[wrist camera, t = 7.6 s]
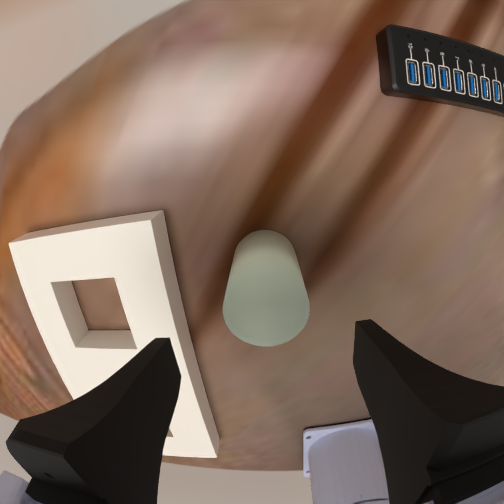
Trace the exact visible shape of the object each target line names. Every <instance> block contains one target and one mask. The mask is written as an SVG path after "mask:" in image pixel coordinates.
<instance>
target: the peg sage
mask: <svg viewBox="0 0 504 504" xmlns="http://www.w3.org/2000/svg"><path fill="white" fill-rule="evenodd" d="M309 313H310V304H309V300H308V296H307V292H306V289H305V285H304V281H303V278H302V274H301V271H300V267H299V264H298V260H297V257H296V253H295V250H294V247H293V245H292V244H291V242H290V241H289V240H288V239H287V238H286V237H285V236H283V235H282V234H280V233H278V232H275V231H271V230H259V231H255V232H252V233H250V234H248V235H247V236H245V237H244V238H243V239H242V240H241V241H240V242H239V244H238V245H237V247H236V250H235V253H234V257H233V262H232V266H231V271H230V275H229V280H228V284H227V289H226V293H225V298H224V303H223V316H224V320H225V322H226V325H227V326H228V328H229V329H230V331H231V332H232V333H233V334H234V335H235V336H236V337H238V338H239V339H241V340H242V341H244V342H246V343H249V344H252V345H256V346H264V347H266V346H276V345H280V344H283V343H286V342H288V341H289V340H291V339H293V338H294V337H295V336H297V335H298V334H299V333H300V332H301V331H302V329H303V328H304V327H305V325H306V323H307V321H308V318H309Z"/></svg>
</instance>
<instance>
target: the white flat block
mask: <svg viewBox="0 0 504 504" xmlns="http://www.w3.org/2000/svg"><path fill="white" fill-rule="evenodd" d="M9 247H10V250H11V254H12V257H13V261H14V264H15V267H16V270H17V273H18V276H19V279H20V282H21V285H22V288H23V291H24V294H25V296H26V299H27V302H28V304H29V307H30V310H31V312H32V315H33V317H34V319H35V322H36V324H37V327H38V329H39V331H40V334H41V336H42V338H43V340H44V343H45V345H46V347H47V349H48V351H49V353H50V355H51V358H52V360H53V362H54V364H55V366H56V368H57V370H58V372H59V374H60V375H61V377H62V379H63V381H64V383H65V385H66V387H67V389H68V390H69V392H70V394H71V396H72V397H73V399H76V398H78V397H80V396H82V395H84V394H86V393H87V392H89V391H90V390H92V389H94V388H95V387H97V386H98V385H100V384H101V383H102V382H104V381H105V380H107V379H108V378H109V377H110V376H112V375H113V374H114V373H115V372H117V371H118V370H119V369H120V368H122V367H123V366H124V365H125V364H126V363H127V362H128V361H130V360H131V359H132V358H133V357H134V356H135V355H136V354H137V353H139V352H140V351H141V350H142V349H143V348H144V347H145V346H146V345H147V344H149V343H150V342H151V341H152V340H153V339H155V338H168V337H170V340H171V344H172V347H173V350H174V354H175V357H176V360H177V363H178V366H179V369H180V373H181V376H182V377H181V384H180V391H179V397H178V400H177V404H176V407H175V410H174V414H173V417H172V420H171V423H170V427H169V430H168V433H167V437H166V440H165V444H164V448H163V454H162V455H168V456H182V457H204V458H217V454H218V446H219V439H220V438H219V435H218V431H217V428H216V425H215V422H214V419H213V415H212V412H211V409H210V406H209V402H208V399H207V395H206V392H205V388H204V385H203V381H202V378H201V374H200V371H199V367H198V363H197V360H196V356H195V352H194V348H193V344H192V340H191V337H190V333H189V329H188V324H187V320H186V316H185V312H184V308H183V304H182V299H181V295H180V290H179V286H178V281H177V277H176V272H175V267H174V263H173V258H172V253H171V248H170V243H169V238H168V233H167V227H166V222H165V216H164V211H163V210H160V211H153V212H146V213H139V214H132V215H126V216H119V217H113V218H107V219H101V220H95V221H89V222H83V223H77V224H72V225H66V226H61V227H55V228H50V229H45V230H39V231H34V232H29V233H26V234H24V235H23V236H21V237H19V238H17V239H15V240H13V241H11V242H10V243H9ZM111 277H115V281H116V284H117V288H118V291H119V294H120V298H121V301H122V304H123V308H124V311H125V314H126V317H127V320H128V323H129V326H130V329H131V330H88V327H87V325H86V322H85V319H84V316H83V314H82V311H81V308H80V305H79V302H78V300H77V297H76V294H75V291H74V287H73V284H72V280H85V279H98V278H111Z"/></svg>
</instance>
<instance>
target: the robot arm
mask: <svg viewBox="0 0 504 504" xmlns="http://www.w3.org/2000/svg"><path fill="white" fill-rule="evenodd" d="M353 365H354V369H355V373H356V377H357V381H358V385H359V387H360V390H361V393H362V395H363V398H364V400H365V403H366V406H367V408H368V411H369V413H370V416H371V419H369V420H364V421H358V422H353V423H347V424H340V425H334V426H326V427H319V428H311V429H306V430H304V432H303V476H304V477H310V480H311V489H312V499H313V504H504V387H503V386H498V385H492V384H487V383H483V382H480V381H476V380H473V379H470V378H467V377H464V376H461V375H458V374H456V373H453V372H451V371H449V370H446V369H444V368H442V367H440V366H438V365H436V364H434V363H432V362H430V361H429V360H427V359H425V358H423V357H422V356H420V355H419V354H417V353H415V352H414V351H412V350H411V349H409V348H408V347H406V346H405V345H404V344H402V343H401V342H399V341H398V340H397V339H395V338H394V337H393V336H392V335H390V334H389V333H388V332H386V331H385V330H384V329H383V328H381V327H380V326H379V325H378V324H376V323H375V322H374V321H372V320H371V319H369V320H362V321H356V323H355V340H354V354H353ZM181 377H182V376H181V373H180V369H179V366H178V363H177V360H176V357H175V354H174V350H173V347H172V344H171V340H170V337H168V338H155V339H153V340H152V341H151V342H150V343H149V344H147V345H146V346H145V347H144V348H143V349H142V350H141V351H140V352H139V353H137V354H136V355H135V356H134V357H133V358H132V359H131V360H130V361H128V362H127V363H126V364H125V365H124V366H123V367H122V368H120V369H119V370H118V371H117V372H115V373H114V374H113V375H112V376H110V377H109V378H108V379H107V380H105V381H104V382H102V383H101V384H100V385H98V386H97V387H95V388H94V389H92V390H90V391H89V392H87V393H86V394H84V395H82V396H80V397H78V398H76V399H74V400H73V401H71V402H69V403H67V404H65V405H62V406H60V407H58V408H55V409H53V410H50V411H48V412H45V413H42V414H39V415H35V416H32V417H28V418H25V419H20V421H19V422H18V424H17V425H16V427H15V428H14V430H13V431H12V433H11V435H10V436H9V438H8V439H7V441H6V445H7V448H8V450H9V452H10V453H11V455H12V456H13V457H14V459H15V460H16V461H17V462H18V463H19V464H20V465H21V466H22V467H23V468H24V469H25V471H27V472H28V474H29V475H30V476H31V477H32V479H31V481H30V483H28V482H27V481H26V480H24V479H22V478H20V477H18V476H16V475H14V474H12V473H9V472H7V471H3V472H2V474H1V475H0V504H157V493H158V483H159V474H160V466H161V460H162V454H163V448H164V444H165V440H166V437H167V433H168V430H169V427H170V423H171V420H172V417H173V414H174V410H175V407H176V404H177V400H178V397H179V391H180V384H181ZM379 445H380V447H379Z"/></svg>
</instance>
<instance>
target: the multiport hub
mask: <svg viewBox="0 0 504 504" xmlns="http://www.w3.org/2000/svg"><path fill="white" fill-rule="evenodd" d="M376 42H377V51H378V61H379V73H380V87H381V91H382V93H383V94H385V95H387V96H395V97H403V98H411V99H418V100H425V101H431V102H437V103H443V104H449V105H454V106H459V107H464V108H469V109H473V110H478V111H482V112H486V113H491V114H495V115H498V116H502V117H504V56H503V55H500V54H498V53H495V52H492V51H490V50H487V49H484V48H481V47H478V46H475V45H472V44H469V43H466V42H463V41H460V40H456V39H453V38H449V37H446V36H442V35H438V34H434V33H430V32H426V31H422V30H417V29H413V28H408V27H403V26H397V25H388V26H386V27H385V28H384V29H383V30H382V31H380V32H379V33H378V34H377V35H376Z"/></svg>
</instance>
